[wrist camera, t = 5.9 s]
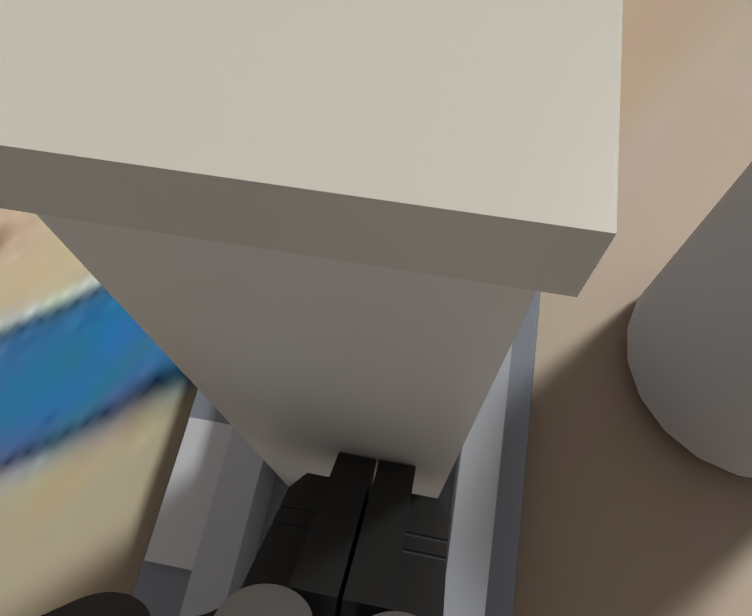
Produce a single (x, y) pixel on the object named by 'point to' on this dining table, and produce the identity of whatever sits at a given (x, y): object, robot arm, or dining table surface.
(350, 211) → the switch lever
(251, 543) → the slide switch
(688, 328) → the can
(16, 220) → the dining table surface
